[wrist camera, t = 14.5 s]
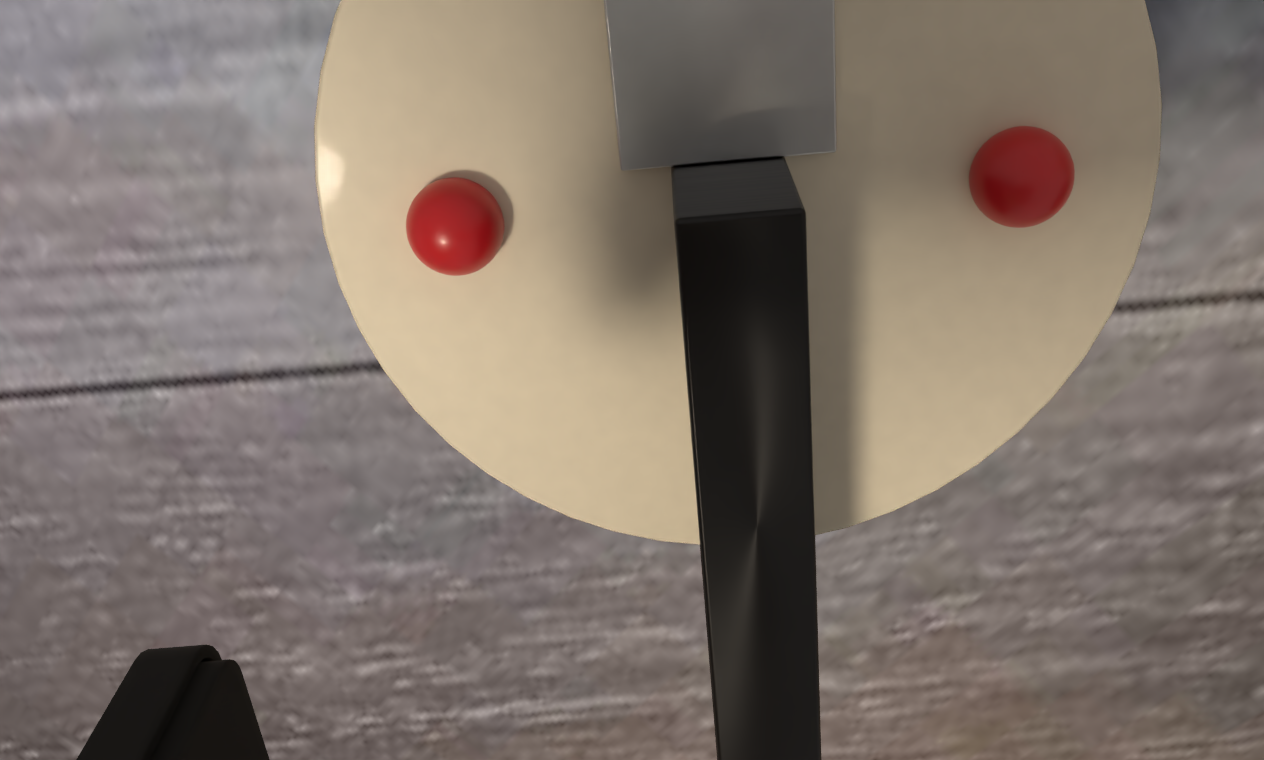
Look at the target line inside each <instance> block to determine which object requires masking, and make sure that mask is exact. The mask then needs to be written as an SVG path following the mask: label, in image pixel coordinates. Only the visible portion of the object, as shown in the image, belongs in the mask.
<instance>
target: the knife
mask: <svg viewBox="0 0 1264 760" xmlns="http://www.w3.org/2000/svg"><path fill="white" fill-rule="evenodd" d="M604 10H605V20H606V30H607V40H608V50H609V60H610V70H611V80H612V90H613V100H614V110H615V120H616V130H617V140H618V150H619V160H620V169H621V170H622V171H627V170H638V169H650V168H661V167H671V178H672V196H673V214H674V230H675V242H676V254H677V267H678V279H679V291H680V304H681V316H682V328H683V341H684V353H685V366H686V378H687V390H688V403H689V415H690V427H691V440H692V452H693V464H694V477H695V489H696V501H697V514H698V526H699V539H700V551H701V563H702V576H703V588H704V600H705V613H706V625H707V637H708V650H709V662H710V674H711V687H712V699H713V712H714V724H715V736H716V749H717V760H821V733H820V697H819V661H818V624H817V588H816V552H815V516H814V480H813V444H812V408H811V372H810V336H809V300H808V264H807V228H806V211H805V208H804V206H803V203H802V201H801V198H800V196H799V193H798V190H797V188H796V185H795V183H794V180H793V178H792V175H791V173H790V170H789V167H788V165H787V162H786V160H785V157H787V156H798V155H810V154H821V153H833V152H836V151H837V121H836V55H835V0H604Z"/></svg>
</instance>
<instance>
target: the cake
mask: <svg viewBox="0 0 1264 760" xmlns="http://www.w3.org/2000/svg"><path fill="white" fill-rule="evenodd" d="M835 55H836V121H837V151H836V152H833V153H821V154H810V155H798V156H787V157H785V160H786V162H787V165H788V167H789V170H790V173H791V175H792V178H793V180H794V183H795V185H796V188H797V190H798V193H799V196H800V198H801V201H802V203H803V206H804V208H805V211H806V228H807V264H808V300H809V336H810V372H811V408H812V444H813V480H814V516H815V535H817V534H822V533H826V532H830V531H834V530H839V529H843V528H847V527H850V526H853V525H855V524H858V523H861V522H864V521H867V520H870V519H872V518H875V517H878V516H881V515H884V514H886V513H889V512H892V511H894V510H896V509H898V508H901V507H903V506H905V505H907V504H909V503H911V502H913V501H915V500H917V499H919V498H921V497H923V496H925V495H927V494H929V493H932V492H934V491H936V490H937V489H939V488H941V487H942V486H944V485H945V484H947V483H949V482H950V481H952V480H953V479H955V478H957V477H958V476H960V475H961V474H963V473H965V472H966V471H968V470H969V469H971V468H973V467H974V466H976V465H977V464H979V463H980V462H981V461H983V460H984V459H985V458H986V457H988V456H989V455H990V454H991V453H993V452H994V451H995V450H996V449H998V448H999V447H1000V446H1001V445H1003V444H1004V443H1005V442H1006V441H1008V440H1009V439H1010V438H1011V437H1013V436H1014V435H1015V434H1017V433H1018V432H1019V431H1020V430H1021V429H1022V428H1023V427H1024V426H1025V425H1026V424H1027V423H1028V422H1029V421H1030V420H1031V419H1032V418H1033V417H1034V416H1035V415H1036V414H1037V413H1038V412H1039V411H1040V410H1041V409H1042V408H1043V407H1044V406H1045V405H1046V404H1047V403H1048V402H1049V401H1050V400H1051V399H1052V398H1053V397H1054V395H1055V394H1056V393H1057V392H1058V390H1059V389H1060V388H1061V387H1062V385H1063V384H1064V383H1065V381H1066V380H1067V379H1068V378H1069V376H1070V375H1071V374H1072V373H1073V371H1074V370H1075V369H1076V368H1077V366H1078V365H1079V364H1080V363H1081V361H1082V360H1083V359H1084V357H1085V356H1086V354H1087V353H1088V351H1089V350H1090V348H1091V346H1092V345H1093V343H1094V341H1095V340H1096V338H1097V337H1098V335H1099V333H1100V332H1101V330H1102V328H1103V327H1104V325H1105V324H1106V322H1107V320H1108V319H1109V317H1110V315H1111V314H1112V312H1113V310H1114V308H1115V305H1116V303H1117V301H1118V299H1119V297H1120V294H1121V292H1122V290H1123V288H1124V286H1125V284H1126V281H1127V279H1128V277H1129V275H1130V273H1131V270H1132V268H1133V266H1134V263H1135V260H1136V257H1137V254H1138V251H1139V248H1140V244H1141V241H1142V238H1143V235H1144V232H1145V228H1146V225H1147V222H1148V219H1149V216H1150V211H1151V206H1152V200H1153V194H1154V189H1155V183H1156V177H1157V172H1158V166H1159V160H1160V138H1161V113H1162V100H1161V90H1160V80H1159V69H1158V59H1157V49H1156V44H1155V40H1154V36H1153V32H1152V28H1151V24H1150V20H1149V16H1148V11H1147V7H1146V3H1145V0H835ZM314 133H315V179H316V187H317V193H318V199H319V206H320V212H321V219H322V225H323V231H324V235H325V239H326V242H327V246H328V249H329V252H330V256H331V259H332V263H333V266H334V269H335V273H336V276H337V280H338V283H339V285H340V287H341V290H342V292H343V294H344V296H345V299H346V301H347V303H348V305H349V308H350V310H351V312H352V314H353V317H354V319H355V321H356V324H357V326H358V328H359V330H360V332H361V333H362V335H363V337H364V338H365V340H366V342H367V343H368V345H369V347H370V348H371V350H372V351H373V353H374V355H375V356H376V358H377V360H378V361H379V363H380V365H381V366H382V368H383V370H384V371H385V373H386V374H387V375H388V377H389V378H390V379H391V380H392V382H393V383H394V384H395V385H396V387H397V388H398V389H399V390H400V392H401V393H402V394H403V396H404V397H405V398H406V399H407V401H408V402H409V403H410V404H411V406H412V407H413V408H414V410H415V411H416V412H417V413H418V414H419V415H420V416H421V417H422V418H423V419H424V420H425V421H426V422H427V423H428V424H430V425H431V426H432V427H433V428H434V429H435V430H436V431H437V432H438V433H439V434H440V435H441V436H442V437H443V438H444V439H445V440H446V441H447V442H448V443H449V444H450V445H451V446H452V447H454V448H455V449H456V450H458V451H459V452H460V453H461V454H463V455H464V456H465V457H467V458H468V459H469V460H470V461H472V462H473V463H474V464H476V465H477V466H478V467H479V468H481V469H482V470H483V471H485V472H486V473H487V474H489V475H491V476H492V477H494V478H496V479H497V480H499V481H501V482H502V483H504V484H506V485H507V486H509V487H511V488H512V489H514V490H515V491H517V492H519V493H520V494H522V495H524V496H525V497H527V498H529V499H532V500H534V501H536V502H538V503H540V504H542V505H545V506H547V507H549V508H551V509H553V510H556V511H558V512H560V513H562V514H564V515H567V516H569V517H571V518H575V519H578V520H581V521H584V522H587V523H590V524H593V525H596V526H599V527H602V528H605V529H608V530H611V531H615V532H620V533H624V534H629V535H634V536H639V537H644V538H649V539H654V540H658V541H667V542H678V543H689V544H700V539H699V526H698V514H697V501H696V489H695V477H694V464H693V452H692V440H691V427H690V415H689V403H688V390H687V378H686V366H685V353H684V341H683V328H682V316H681V304H680V291H679V279H678V267H677V254H676V242H675V230H674V214H673V196H672V178H671V167H661V168H650V169H638V170H627V171H622V170H621V169H620V160H619V150H618V140H617V130H616V120H615V110H614V100H613V90H612V80H611V70H610V60H609V50H608V40H607V30H606V20H605V10H604V0H341V1H340V4H339V6H338V9H337V11H336V14H335V16H334V20H333V24H332V28H331V32H330V36H329V40H328V44H327V48H326V52H325V56H324V60H323V64H322V68H321V72H320V81H319V90H318V99H317V107H316V116H315V125H314Z"/></svg>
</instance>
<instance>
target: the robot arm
mask: <svg viewBox="0 0 1264 760" xmlns="http://www.w3.org/2000/svg"><path fill="white" fill-rule="evenodd" d="M77 760H269V757H268V754H267V751H266V748H265V744H264V741H263V738H262V735H261V732H260V729H259V725H258V722H257V719H256V716H255V713H254V709H253V706H252V703H251V700H250V697H249V694H248V690H247V687H246V684H245V681H244V678H243V675H242V672H241V669H240V667H239V665H238V664H237V663H236V662H235V661H234V660H222V659H221V657H220V655H219V653H218V651H217V650H216V649H215V648H214V647H213V646H210V645H198V646H185V647H172V648H159V649H148V650H146V651H144V652H142V653H140V655H139V656H138V657H137V658H136V660H135V661H134V663H133V664H132V666H131V668H130V669H129V671H128V673H127V674H126V676H125V678H124V680H123V681H122V683H121V685H120V686H119V688H118V690H117V692H116V693H115V695H114V697H113V698H112V700H111V702H110V703H109V705H108V707H107V709H106V710H105V712H104V714H103V715H102V717H101V719H100V721H99V722H98V724H97V726H96V727H95V729H94V731H93V732H92V734H91V736H90V738H89V739H88V741H87V743H86V744H85V746H84V748H83V750H82V751H81V753H80V755H79V756H78V758H77Z"/></svg>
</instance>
